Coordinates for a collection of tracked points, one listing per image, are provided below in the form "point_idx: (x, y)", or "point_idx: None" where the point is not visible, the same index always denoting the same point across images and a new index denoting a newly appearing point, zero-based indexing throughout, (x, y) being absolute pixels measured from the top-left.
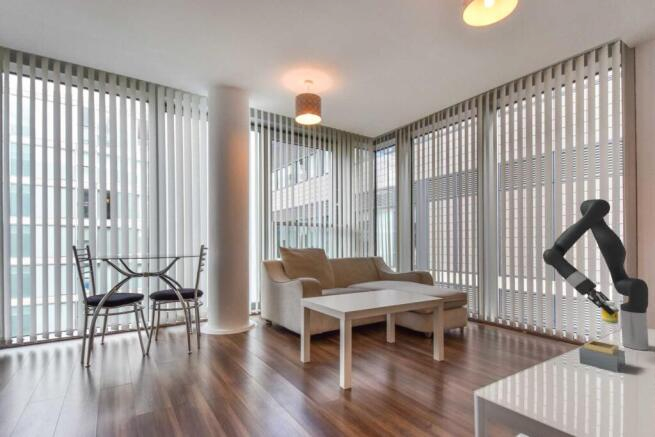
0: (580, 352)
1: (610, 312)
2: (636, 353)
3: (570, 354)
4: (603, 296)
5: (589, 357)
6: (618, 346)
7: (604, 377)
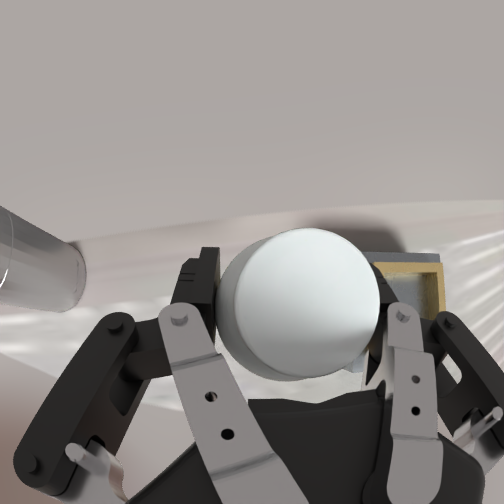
0: None
1: None
2: (132, 264)
3: None
4: (249, 411)
5: None
6: (373, 262)
7: (460, 275)
